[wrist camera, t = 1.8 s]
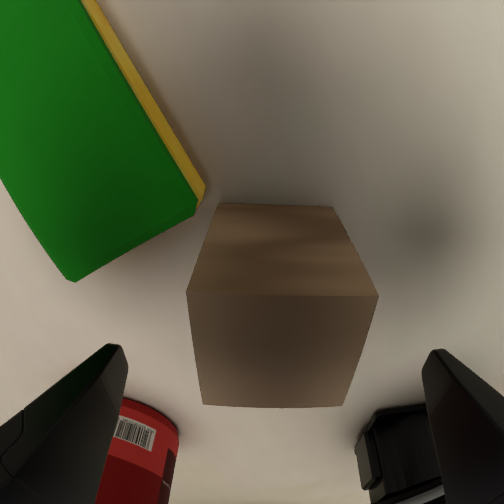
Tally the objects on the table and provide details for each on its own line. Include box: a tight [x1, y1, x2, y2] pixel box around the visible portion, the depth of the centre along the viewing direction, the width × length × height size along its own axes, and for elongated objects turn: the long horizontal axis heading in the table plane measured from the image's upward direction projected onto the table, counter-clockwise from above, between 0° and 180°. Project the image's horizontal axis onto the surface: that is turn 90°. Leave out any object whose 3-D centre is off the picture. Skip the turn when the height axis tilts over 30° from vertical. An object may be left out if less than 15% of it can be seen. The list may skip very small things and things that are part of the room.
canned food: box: [95, 398, 179, 504], centre depth 16 cm, size 8×8×11 cm
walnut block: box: [186, 203, 379, 408], centre depth 11 cm, size 4×4×6 cm
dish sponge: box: [0, 0, 206, 282], centre depth 10 cm, size 7×14×2 cm, turn 28°
